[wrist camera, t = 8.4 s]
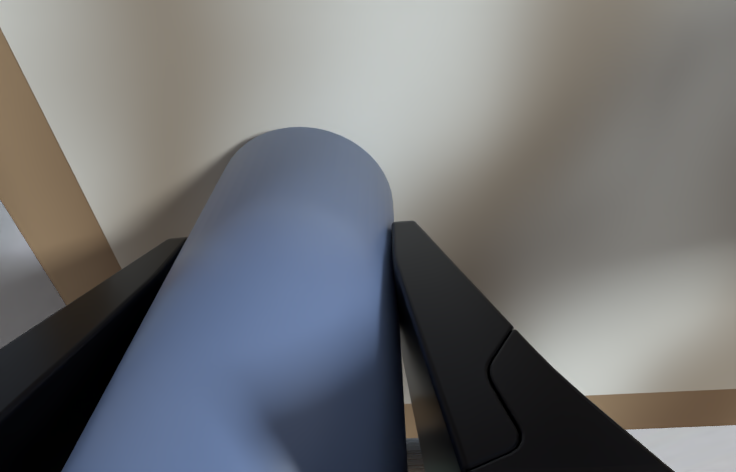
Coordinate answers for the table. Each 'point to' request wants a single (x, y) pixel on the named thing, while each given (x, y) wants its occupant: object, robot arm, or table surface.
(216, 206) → the blue cylinder
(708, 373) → the clipboard
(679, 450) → the table surface
